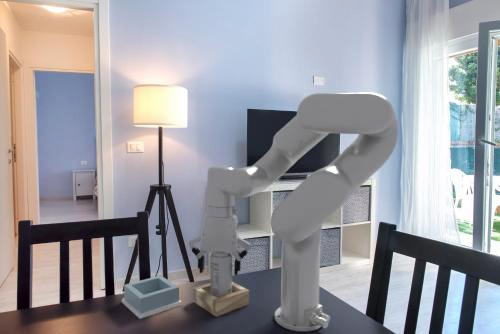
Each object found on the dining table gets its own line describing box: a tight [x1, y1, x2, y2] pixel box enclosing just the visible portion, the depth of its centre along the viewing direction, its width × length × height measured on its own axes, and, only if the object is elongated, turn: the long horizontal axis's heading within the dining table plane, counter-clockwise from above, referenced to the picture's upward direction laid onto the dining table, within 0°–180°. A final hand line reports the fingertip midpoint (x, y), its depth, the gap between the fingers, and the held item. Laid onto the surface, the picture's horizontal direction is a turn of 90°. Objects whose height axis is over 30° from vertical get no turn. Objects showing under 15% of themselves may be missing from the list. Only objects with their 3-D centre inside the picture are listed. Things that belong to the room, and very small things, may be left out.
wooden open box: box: [193, 281, 250, 318], centre depth 100 cm, size 11×11×4 cm
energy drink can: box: [209, 252, 233, 298], centre depth 99 cm, size 6×6×15 cm
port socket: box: [121, 275, 183, 320], centre depth 99 cm, size 12×12×5 cm
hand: (219, 272), depth 99 cm, fingers open, 9 cm apart
